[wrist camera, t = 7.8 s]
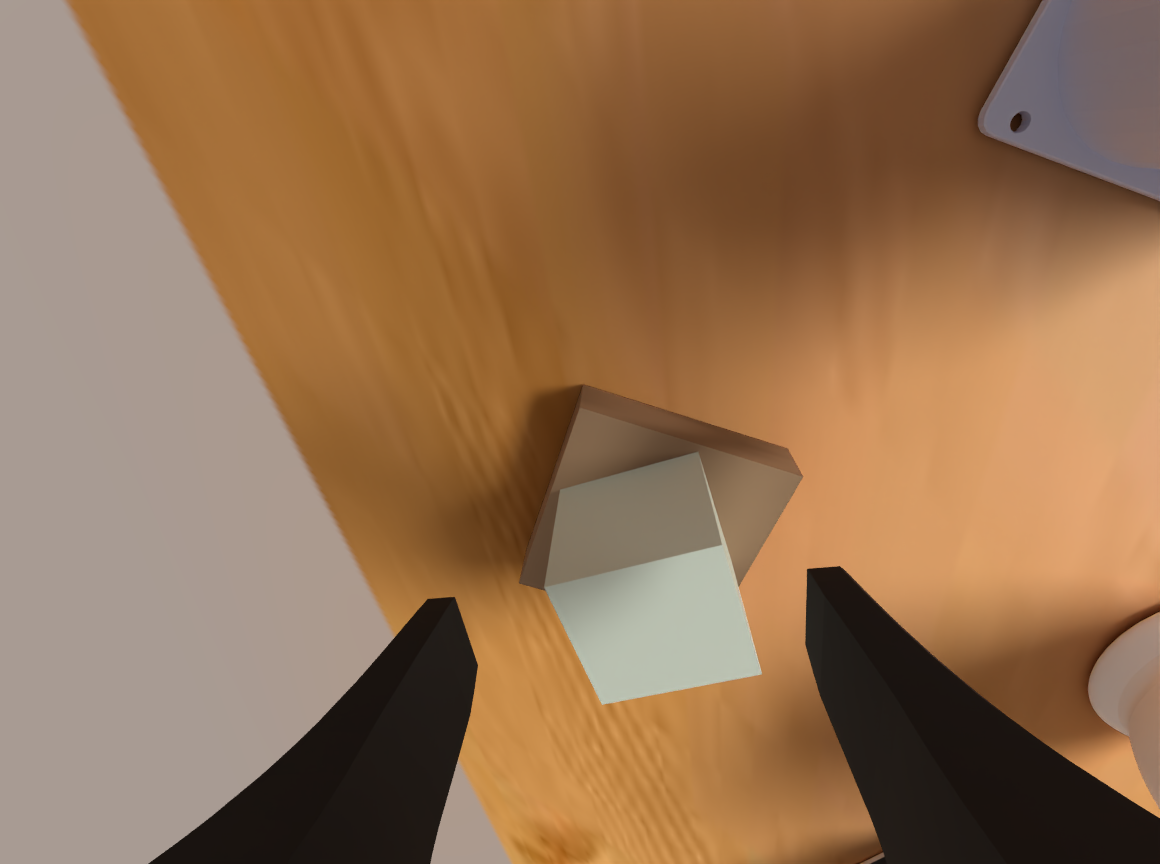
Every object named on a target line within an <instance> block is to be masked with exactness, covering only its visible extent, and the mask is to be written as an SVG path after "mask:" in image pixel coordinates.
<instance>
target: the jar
mask: <svg viewBox="0 0 1160 864" xmlns="http://www.w3.org/2000/svg"><path fill="white" fill-rule="evenodd" d="M1088 694H1089V699H1090V702H1091V705H1092V707H1093V709H1094V710H1095V712H1096V713H1097V714H1098V716H1099V717H1100V718H1101V719H1102V720H1103V721H1104V722H1106V723H1107V724H1108V725H1110V726H1111V727H1112V728H1114V729H1116V730H1117V731H1119V732H1121V733H1123V734H1125V735H1127V736H1129V739H1130V743H1131V746H1132V750H1133V753H1134V757H1135V760H1136V762H1137V765H1138V768H1139V770H1140V773H1141V775H1142V777H1143V779H1144V782H1145V784H1146V786H1147V788H1148V789H1149V791H1150V793H1151V795H1152V797H1153V799H1154V800H1155V802H1156V804H1157V806H1158V807H1159V809H1160V612H1158V613H1156V614H1154V615H1152V616H1150V617H1148V618H1146V619H1144V620H1142V621H1140V622H1139V623H1137V624H1135V625H1134V626H1133V627H1131V628H1130V629H1128V630H1127V631H1125V632H1124V633H1123V634H1121V635H1120V636H1119V637H1118V638H1117V639H1116V640H1115V641H1114V642H1112V643H1111V644H1110V645H1109V646H1108V647H1107V648H1106V650H1105V651H1104V652H1103V653H1102V655H1101V656H1100V657H1099V659H1098V660H1097V662H1096V663H1095V665H1094V668H1093V670H1092V672H1091V674H1090V678H1089V684H1088Z"/></svg>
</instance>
